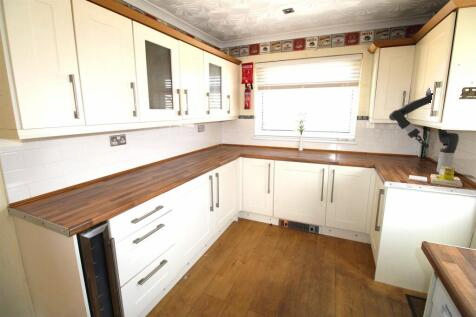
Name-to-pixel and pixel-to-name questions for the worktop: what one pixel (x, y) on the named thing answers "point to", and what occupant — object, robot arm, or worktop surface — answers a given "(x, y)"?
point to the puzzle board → (446, 181)
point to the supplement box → (446, 173)
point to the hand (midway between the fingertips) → (427, 146)
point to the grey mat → (418, 178)
